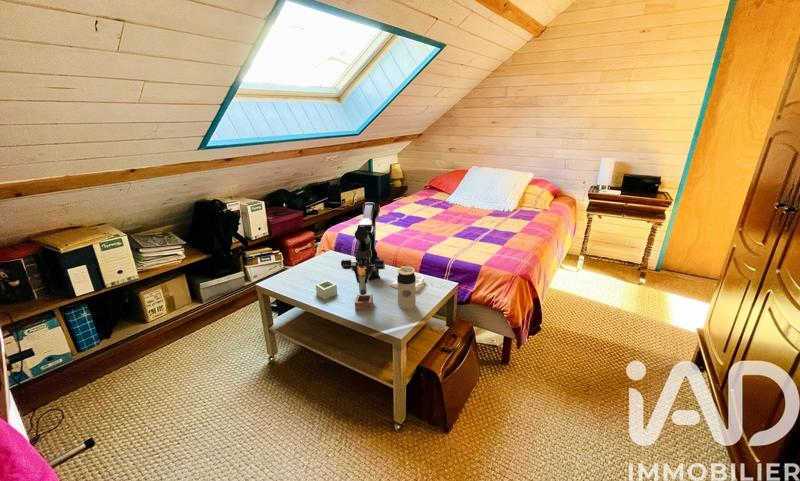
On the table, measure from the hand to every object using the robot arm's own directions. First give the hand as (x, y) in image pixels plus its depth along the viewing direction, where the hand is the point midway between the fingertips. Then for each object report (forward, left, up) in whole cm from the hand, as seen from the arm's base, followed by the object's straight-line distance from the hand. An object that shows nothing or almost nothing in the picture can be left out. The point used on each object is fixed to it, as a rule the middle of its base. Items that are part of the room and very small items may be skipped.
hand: (361, 283), depth 155 cm
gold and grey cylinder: (-1, -1, -6) cm, 6 cm away
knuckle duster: (-27, -11, -14) cm, 32 cm away
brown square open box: (-1, -1, -13) cm, 13 cm away
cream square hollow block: (+12, -19, -13) cm, 26 cm away
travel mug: (-19, +5, -14) cm, 24 cm away
